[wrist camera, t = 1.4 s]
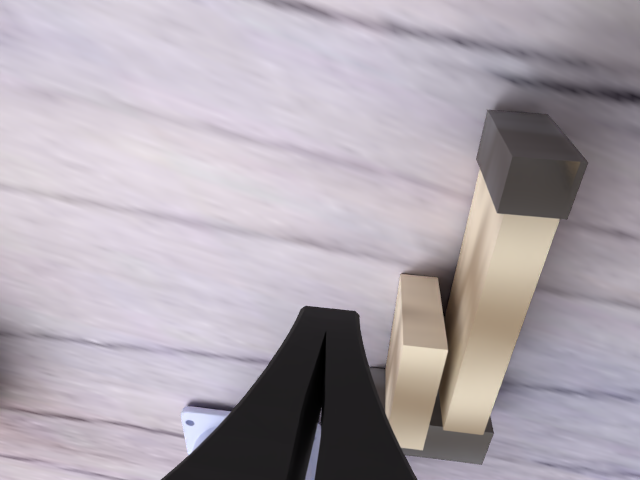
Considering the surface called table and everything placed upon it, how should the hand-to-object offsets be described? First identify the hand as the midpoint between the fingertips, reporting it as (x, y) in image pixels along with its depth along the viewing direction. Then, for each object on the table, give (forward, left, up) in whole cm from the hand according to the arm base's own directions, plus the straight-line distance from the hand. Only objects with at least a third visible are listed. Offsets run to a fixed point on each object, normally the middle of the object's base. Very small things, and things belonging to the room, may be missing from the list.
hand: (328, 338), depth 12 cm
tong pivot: (-8, -4, -9) cm, 13 cm away
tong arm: (-3, -5, -8) cm, 10 cm away
